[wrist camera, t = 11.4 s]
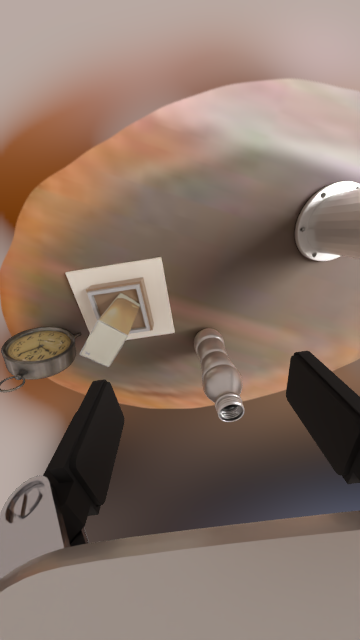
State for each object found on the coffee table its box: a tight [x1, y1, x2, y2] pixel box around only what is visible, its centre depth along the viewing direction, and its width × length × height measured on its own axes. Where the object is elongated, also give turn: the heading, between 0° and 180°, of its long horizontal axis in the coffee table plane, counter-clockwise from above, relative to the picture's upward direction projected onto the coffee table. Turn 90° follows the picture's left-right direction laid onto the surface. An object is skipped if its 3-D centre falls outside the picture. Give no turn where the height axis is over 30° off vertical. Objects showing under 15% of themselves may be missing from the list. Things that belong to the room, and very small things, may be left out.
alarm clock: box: [0, 327, 81, 392], centre depth 35 cm, size 11×5×16 cm, turn 79°
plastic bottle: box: [194, 328, 244, 422], centre depth 35 cm, size 6×7×20 cm
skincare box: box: [80, 293, 140, 367], centre depth 31 cm, size 6×4×12 cm
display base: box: [66, 257, 175, 340], centre depth 38 cm, size 18×16×5 cm
